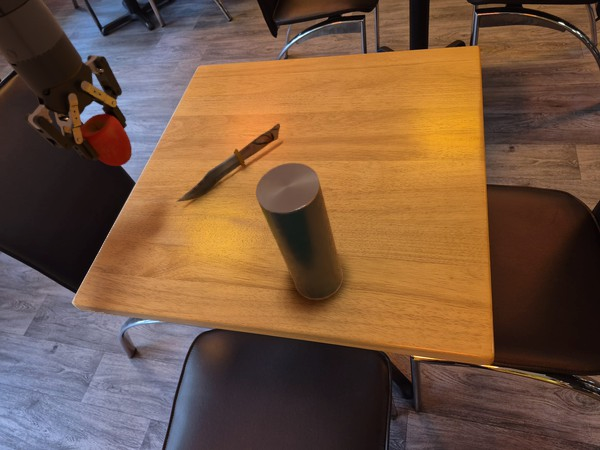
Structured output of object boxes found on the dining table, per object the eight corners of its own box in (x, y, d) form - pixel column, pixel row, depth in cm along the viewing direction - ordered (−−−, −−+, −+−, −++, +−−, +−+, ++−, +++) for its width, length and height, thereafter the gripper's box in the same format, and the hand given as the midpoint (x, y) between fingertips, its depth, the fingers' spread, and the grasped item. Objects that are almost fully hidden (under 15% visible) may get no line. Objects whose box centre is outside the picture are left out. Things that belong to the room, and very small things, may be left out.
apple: (101, 153, 71) (73, 117, 65) (137, 140, 71) (113, 102, 65) (102, 179, 67) (72, 143, 61) (140, 165, 67) (114, 127, 61)
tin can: (332, 306, 65) (303, 219, 48) (286, 291, 68) (244, 204, 51) (350, 263, 69) (329, 168, 52) (306, 251, 72) (273, 157, 55)
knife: (182, 211, 83) (171, 194, 79) (179, 207, 84) (168, 190, 80) (286, 142, 88) (280, 123, 84) (282, 139, 89) (276, 120, 85)
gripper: (51, 7, 58) (118, 108, 71) (-33, 74, 51) (59, 172, 64) (91, 8, 55) (153, 114, 68) (7, 80, 48) (95, 182, 61)
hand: (107, 142), depth 66 cm, fingers closed on apple, 6 cm apart
